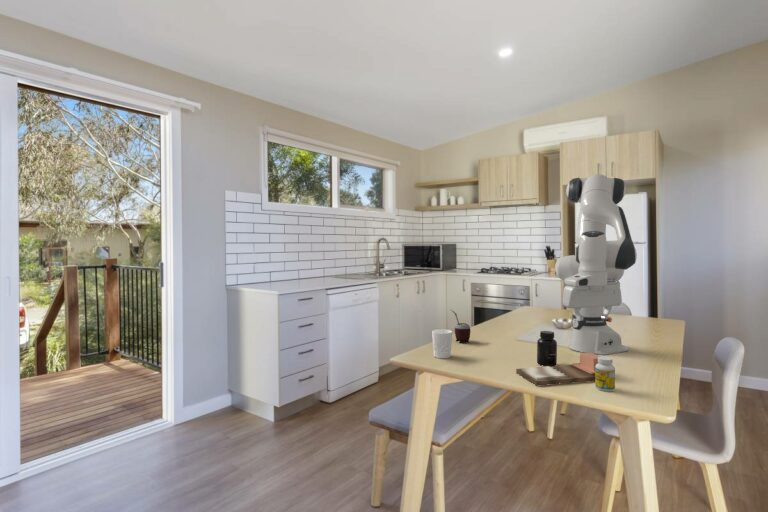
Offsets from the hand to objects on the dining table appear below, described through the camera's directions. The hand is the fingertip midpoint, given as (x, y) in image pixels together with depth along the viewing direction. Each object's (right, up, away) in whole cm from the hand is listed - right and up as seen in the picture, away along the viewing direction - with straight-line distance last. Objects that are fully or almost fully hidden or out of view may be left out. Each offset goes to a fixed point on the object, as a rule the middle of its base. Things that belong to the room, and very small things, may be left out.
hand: (592, 319), depth 144 cm
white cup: (-48, -18, +25) cm, 57 cm away
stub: (0, -17, +1) cm, 17 cm away
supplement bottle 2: (-3, -20, -13) cm, 24 cm away
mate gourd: (-36, -17, +47) cm, 61 cm away
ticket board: (-10, -19, -1) cm, 21 cm away
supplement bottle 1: (-11, -18, +12) cm, 25 cm away
